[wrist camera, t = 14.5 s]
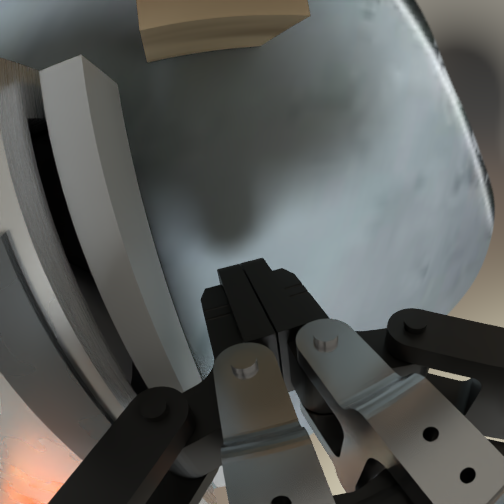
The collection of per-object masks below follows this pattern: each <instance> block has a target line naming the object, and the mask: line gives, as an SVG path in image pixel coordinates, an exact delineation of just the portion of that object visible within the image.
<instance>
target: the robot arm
mask: <svg viewBox="0 0 504 504" xmlns="http://www.w3.org/2000/svg"><path fill="white" fill-rule="evenodd" d="M217 271H218V276H219V281H220V285H218V286H214V287H210V288H206V289H205V290H204V293H203V295H202V297H201V303H202V308H203V312H204V317H205V321H206V325H207V330H208V334H209V338H210V342H211V346H212V350H213V354H214V365H213V368H212V370H211V372H210V373H209V375H208V376H207V377H206V378H205V379H204V380H203V381H202V382H200V383H199V384H197V385H196V386H194V387H192V388H190V389H188V390H186V391H185V392H183V393H181V392H180V391H178V390H176V389H174V388H171V387H165V386H159V387H153V388H150V389H147V390H145V391H143V392H141V393H139V394H138V395H137V396H136V397H135V398H134V399H133V400H132V401H131V402H130V403H129V405H128V406H127V407H126V408H125V410H124V411H123V412H122V413H121V414H120V416H119V417H118V418H117V419H116V421H115V422H114V423H113V424H112V425H111V427H110V428H109V429H108V430H107V432H106V433H105V434H104V435H103V436H102V438H101V439H100V440H99V441H98V443H97V444H96V445H95V446H94V447H93V449H92V450H91V451H90V452H89V454H88V455H87V456H86V457H85V458H84V460H83V461H82V462H81V463H80V465H79V466H78V467H77V468H76V469H75V471H74V472H73V473H72V474H71V476H70V477H69V478H68V479H67V480H66V482H65V483H64V484H63V485H62V487H61V488H60V489H59V490H58V491H57V493H56V494H55V495H54V496H53V498H52V499H51V500H50V501H49V502H48V504H199V503H200V501H201V499H202V498H203V496H204V494H205V493H206V491H207V489H208V488H209V486H210V484H211V482H212V481H213V479H214V477H215V476H216V474H217V472H218V470H219V467H220V466H222V467H223V473H224V479H225V484H226V489H227V495H228V500H229V504H504V442H499V441H494V440H490V439H486V438H485V437H484V436H488V437H493V438H499V439H504V328H502V327H497V326H493V325H488V324H483V323H479V322H474V321H470V320H465V319H461V318H456V317H452V316H447V315H443V314H438V313H434V312H430V311H425V310H421V309H413V308H411V309H403V310H400V311H398V312H396V313H394V314H393V315H392V316H391V317H390V319H389V321H388V325H387V328H385V329H377V330H370V331H354V330H353V329H352V328H351V327H350V326H349V325H348V324H346V323H344V322H342V321H339V320H336V319H330V318H329V317H328V316H327V315H326V313H325V312H324V311H323V309H322V308H321V307H320V306H319V304H318V303H317V302H316V301H315V299H314V298H313V297H312V296H311V294H310V293H309V292H308V291H307V289H306V288H305V287H304V285H302V283H301V282H300V280H299V279H298V278H297V277H296V275H295V274H293V273H291V272H289V271H287V270H285V269H283V268H281V269H277V270H274V271H272V270H271V269H270V267H269V266H268V264H267V263H266V261H265V260H264V259H263V258H259V259H256V260H252V261H248V262H244V263H241V264H237V265H233V266H229V267H225V268H221V269H217ZM429 368H432V369H436V370H440V371H444V372H449V373H453V374H457V375H462V376H466V377H470V378H471V379H469V380H467V381H458V380H454V379H449V378H445V377H441V376H437V375H433V374H429V373H428V370H429ZM293 390H295V391H296V393H297V395H298V397H299V399H300V408H301V412H302V414H303V416H304V417H305V419H306V420H307V422H308V424H309V425H310V427H311V428H312V430H313V432H314V433H315V435H316V436H317V438H318V440H319V441H320V443H321V444H322V446H323V448H324V449H325V451H326V452H327V454H328V455H329V457H330V458H331V460H332V462H333V464H334V466H335V469H336V473H337V476H338V478H339V481H340V483H341V485H342V487H343V488H344V489H345V491H346V493H345V494H340V495H334V496H332V493H331V491H330V488H329V486H328V483H327V481H326V478H325V476H324V473H323V470H322V467H321V465H320V462H319V460H318V457H317V455H316V452H315V450H314V447H313V444H312V441H311V439H310V437H309V434H308V432H307V431H306V429H305V428H304V427H301V425H300V423H299V421H298V418H297V415H296V413H295V410H294V407H293V404H292V402H291V399H290V396H289V393H288V392H290V391H293Z"/></svg>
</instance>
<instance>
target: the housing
mask: <svg viewBox="0 0 504 504" xmlns="http://www.w3.org/2000/svg"><path fill="white" fill-rule="evenodd" d="M48 139H50V136H49V131H48V126H47V121H46V116H45V110H44V104H43V97H42V90H41V83H40V75H39V70H36V69H33V68H30V67H27V66H24V65H21V64H18V63H15V62H12V61H9V60H6V59H3V58H0V504H48V502H49V501H50V500H51V499H52V498H53V496H54V495H55V494H56V493H57V491H58V490H59V489H60V488H61V487H62V485H63V484H64V483H65V482H66V480H67V479H68V478H69V477H70V476H71V474H72V473H73V472H74V471H75V469H76V468H77V467H78V466H79V465H80V463H81V462H82V461H83V460H84V458H85V457H86V456H87V455H88V454H89V452H90V451H91V450H92V449H93V447H94V446H95V445H96V444H97V443H98V441H99V440H100V439H101V438H102V436H103V435H104V434H105V433H106V432H107V430H108V429H109V428H110V427H111V425H112V424H113V423H114V422H115V421H116V419H117V418H118V417H119V416H120V414H121V413H122V412H123V411H124V410H125V408H126V407H127V406H128V405H129V403H130V402H131V401H132V400H133V399H134V398H135V397H136V396H137V394H136V392H135V391H134V389H133V387H132V386H131V384H130V383H129V381H128V379H127V378H126V376H125V374H124V373H123V371H122V369H121V368H120V366H119V364H118V362H117V361H116V359H115V357H114V355H113V354H112V352H111V350H110V348H109V346H108V345H107V343H106V341H105V339H104V337H103V335H102V333H101V331H100V330H99V328H98V326H97V324H96V322H95V320H94V318H93V316H92V314H91V312H90V309H89V307H88V305H87V303H86V301H85V299H84V297H83V295H82V292H81V290H80V288H79V286H78V283H77V281H76V279H75V276H74V274H73V272H72V269H71V267H70V264H69V262H68V259H67V257H66V254H65V252H64V249H63V247H62V244H61V241H60V238H59V236H58V233H57V230H56V227H55V224H54V221H53V218H52V215H51V212H50V209H49V206H48V203H47V199H46V196H45V193H44V189H43V186H42V182H41V179H40V175H39V171H38V167H37V163H36V159H35V155H34V150H33V146H34V145H36V144H39V143H41V142H43V141H46V140H48ZM199 504H217V501H216V497H215V494H214V490H213V487H212V483H211V484H210V486H209V488H208V489H207V491H206V493H205V494H204V496H203V498H202V499H201V501H200V503H199Z"/></svg>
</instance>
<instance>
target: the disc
mask: <svg viewBox="0 0 504 504" xmlns="http://www.w3.org/2000/svg"><path fill="white" fill-rule="evenodd" d="M69 264H70V263H69ZM70 267H71V269H72V272H73V274H74V276H75V279H76V281H77V283H78V286H79V288H80V290H81V292H82V295H83V297H84V299H85V301H86V303H87V305H88V307H89V309H90V312H91V314H92V316H93V318H94V320H95V322H96V324H97V326H98V328H99V330H100V331H101V333H102V335H103V337H104V339H105V341H106V343H107V345H108V346H109V348H110V350H111V352H112V354H113V355H114V357H115V359H116V361H117V362H118V364H119V366H120V368H121V369H122V371H123V373H124V374H125V376H126V378H127V379H128V381H129V383H130V384H131V380H132V358H131V357H130V355H129V353H128V351H127V349H126V347H125V345H124V343H123V341H122V339H121V337H120V335H119V333H118V331H117V329H116V327H115V325H114V323H113V321H112V319H111V317H110V315H109V313H108V310H107V308H106V306H105V304H104V302H103V299H102V297H101V295H100V292H99V290H98V288H97V285H96V283H95V281H94V278H93V276H92V275H91V274H90V273H88V272H86V271H84V270H83V269H81V268H79V267H77V266H74V265H72V264H70Z"/></svg>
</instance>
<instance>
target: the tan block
mask: <svg viewBox="0 0 504 504" xmlns="http://www.w3.org/2000/svg"><path fill="white" fill-rule="evenodd" d="M136 3H137V12H138V21H139V29H140V34H141V38H142V43H143V47H144V51H145V55H146V59H147V63H148V62H153V61H157V60H162V59H167V58H172V57H177V56H183V55H188V54H195V53H201V52H208V51H216V50H224V49H233V48H244V47H258V46H262V45H263V44H265V43H266V42H268V41H269V40H271V39H273V38H274V37H276V36H277V35H279V34H281V33H282V32H284V31H285V30H287V29H289V28H290V27H292V26H294V25H295V24H297V23H299V22H301V21H302V20H304V19H306V18H308V17H309V16H310V11H309V6H308V1H307V0H136Z"/></svg>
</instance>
